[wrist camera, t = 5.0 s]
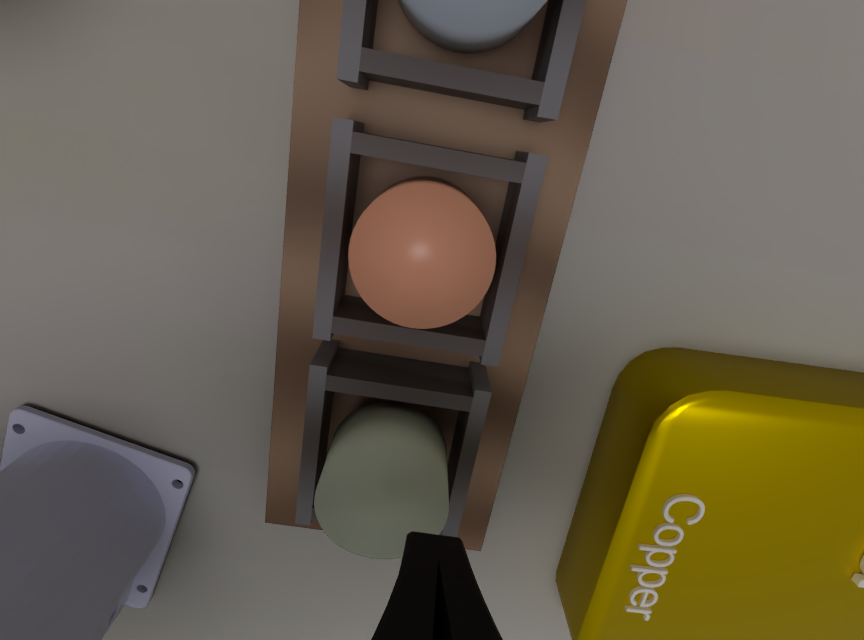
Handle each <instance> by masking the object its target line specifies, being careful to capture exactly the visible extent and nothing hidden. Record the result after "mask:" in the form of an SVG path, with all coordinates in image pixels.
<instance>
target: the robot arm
mask: <svg viewBox="0 0 864 640" xmlns="http://www.w3.org/2000/svg"><path fill="white" fill-rule="evenodd" d="M21 425H22V426H23V427H24V428H23V427H22V426H21ZM194 476H195V470H194V468H193V467H192V466H191V465H190V464H188V463H186V462H183V461H180V460H178V459H175V458H172V457H169V456H166V455H164V454H161V453H158V452H155V451H152V450H150V449H147V448H144V447H141V446H138V445H136V444H133V443H130V442H127V441H124V440H121V439H119V438H116V437H113V436H110V435H107V434H105V433H102V432H99V431H96V430H93V429H91V428H88V427H85V426H82V425H79V424H77V423H74V422H71V421H68V420H65V419H63V418H60V417H57V416H54V415H51V414H48V413H46V412H43V411H40V410H37V409H34V408H32V407H29V406H19V407H17V408H16V409H14V410H13V411H11V413H10V415H9V420H8V425H7V430H6V436H5V441H4V447H3V452H2V458H1V463H0V640H101V639H102V638H103V636H104V635H105V633H106V632H107V630H108V629H109V627H110V626H111V624H112V623H113V621H114V620H115V618H116V617H117V615H118V613H119V612H120V610H121V609H122V607H123V606H124V605H127V606H130V607H133V608H137V609H141V608H145V607H146V606H147V605H148V603H149V602H150V600H151V598H152V595H153V592H154V589H155V586H156V583H157V581H158V578H159V575H160V572H161V569H162V566H163V564H164V561H165V558H166V555H167V552H168V549H169V547H170V544H171V541H172V538H173V535H174V532H175V530H176V527H177V524H178V521H179V518H180V515H181V512H182V510H183V507H184V504H185V501H186V498H187V495H188V493H189V490H190V487H191V484H192V481H193V478H194ZM176 479H177V480H180V481H182V483H180V482H178V481H177V480H176ZM371 640H503V639H502V637H501V635H500V633H499V631H498V629H497V627H496V625H495V623H494V621H493V619H492V616H491V614H490V612H489V610H488V607H487V605H486V603H485V601H484V598H483V596H482V594H481V591H480V589H479V586H478V584H477V581H476V579H475V576H474V574H473V571H472V568H471V565H470V563H469V560H468V557H467V554H466V551H465V547H464V544H463V541H462V540H461V539H460V538H459V537H451V536H444V535H436V534H429V533H422V532H414V531H412V532H410V533H408V534H407V536H406V541H405V547H404V552H403V557H402V562H401V567H400V571H399V575H398V578H397V580H396V583H395V586H394V588H393V591H392V594H391V596H390V599H389V602H388V604H387V607H386V609H385V611H384V613H383V615H382V618H381V620H380V622H379V624H378V626H377V629H376V631H375V633H374V635H373V637H372V639H371Z"/></svg>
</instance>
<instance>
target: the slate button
mask: <svg viewBox="0 0 864 640" xmlns="http://www.w3.org/2000/svg"><path fill="white" fill-rule="evenodd" d="M398 2H399V5H400V7H401V9H402V10H403V12H404V14H405V16H406V17H407V19H408V20H409V22H410V23H411V24H412V26H413V27H414V28H415V29H416V30H417V31H418V32H419V33H420V34H421V35H422V36H423V37H425V38H426V39H427V40H428V41H430V42H432V43H433V44H435V45H437V46H439V47H441V48H443V49H446V50H449V51H453V52H457V53H465V54H468V53H480V52H486V51H489V50H492V49H495V48H497V47H499V46H501V45H503V44H505V43H507V42H508V41H510V40H511V39H513V38H514V37H515V36H516V35H517V34H519V33H520V32H521V31H522V30H523V29H524V28H525V26H526V25H527V24H528V23H529V22H530V21H531V20H532V18H533V17H534V16H535V15H536V14H537V12H538V11H539V10H540V9H541V8H542V6H543V5H544V4H545V3H546V2H547V0H398Z"/></svg>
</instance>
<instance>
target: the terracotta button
mask: <svg viewBox="0 0 864 640" xmlns="http://www.w3.org/2000/svg"><path fill="white" fill-rule="evenodd" d="M348 260H349V269H350V273H351V277H352V280H353V282H354V285H355V287H356V289H357V291H358V293H359V294H360V296H361V297H362V299H363V300H364V301H365V302H366V304H367V305H368V306H369V307H370V308H371V309H372V310H374V311H375V312H376V313H377V314H378V315H380V316H381V317H383V318H385V319H386V320H388V321H390V322H392V323H395V324H398V325H400V326H404V327H409V328H416V329H430V328H437V327H441V326H445V325H448V324H450V323H453V322H455V321H457V320H459V319H461V318H462V317H464V316H465V315H467V314H468V313H469V312H471V311H472V310H473V309H474V308H475V307H476V306H477V305H478V304H479V302H480V301H481V300H482V299H483V297H484V296H485V294H486V292H487V291H488V289H489V286H490V284H491V282H492V279H493V275H494V272H495V265H496V249H495V242H494V238H493V235H492V232H491V230H490V227H489V225H488V223H487V221H486V220H485V218H484V216H483V215H482V213H481V212H480V210H479V209H478V207H477V206H476V204H475V203H474V202H473V200H472V199H471V198H470V197H469V196H468V195H467V194H466V193H465V192H464V191H463V190H462V189H460V188H459V187H458V186H456V185H454V184H452V183H451V182H448V181H446V180H443V179H440V178H436V177H428V176H417V177H411V178H407V179H404V180H401V181H399V182H396V183H394V184H392V185H391V186H389V187H388V188H386V189H385V190H384V191H383V192H382V193H380V194H379V196H378V197H377V198H376V199H375V200H374V201H373V202H372V203H371V204H370V205H369V206H368V207H367V209H366V210H365V211H364V212H363V213H362V215H361V216H360V218H359V219H358V221H357V223H356V225H355V227H354V229H353V232H352V235H351V238H350V243H349V252H348Z"/></svg>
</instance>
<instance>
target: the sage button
mask: <svg viewBox="0 0 864 640" xmlns="http://www.w3.org/2000/svg"><path fill="white" fill-rule="evenodd" d="M314 508H315V514H316V517H317V520H318V522H319V524H320V526H321V528H322V529H323V531H324V532H325V533H326V534H327V536H328V537H329V538H330V539H331V540H333V541H334V542H335V543H336V544H338V545H339V546H340V547H342V548H344V549H346V550H347V551H349V552H352V553H354V554H357V555H360V556H364V557H368V558H375V559H393V558H400V557H403V552H404V547H405V541H406V536H407V534H408V533H410V532H412V531H414V532H422V533H429V534H436V535H439V534H440V533H441V531H442V530H443V528H444V526H445V524H446V521H447V518H448V513H449V494H448V473H447V451H446V443H445V439H444V436H443V434H442V432H441V430H440V428H439V427H438V425H437V424H436V423H435V422H434V421H433V420H432V419H431V418H430V417H429V416H428V415H427V414H425V413H424V412H422V411H421V410H419V409H417V408H415V407H412V406H410V405H407V404H403V403H398V402H378V403H372V404H369V405H365V406H363V407H360V408H358V409H357V410H355V411H353V412H352V413H350V414H349V415H348V416H347V417H346V418H345V419H344V420H343V421H342V422H341V423H340V425H339V426H338V428H337V430H336V432H335V434H334V437H333V440H332V443H331V446H330V449H329V452H328V455H327V458H326V461H325V464H324V467H323V470H322V473H321V476H320V479H319V482H318V485H317V488H316V492H315V497H314Z"/></svg>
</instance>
